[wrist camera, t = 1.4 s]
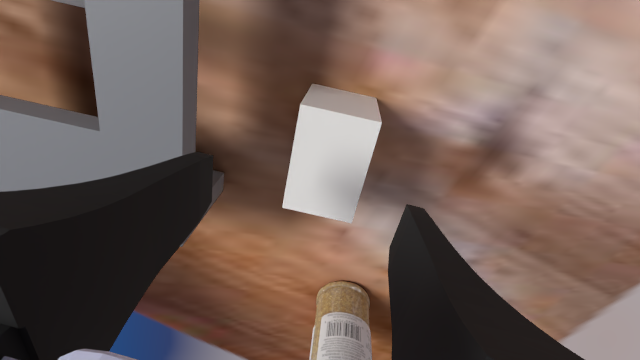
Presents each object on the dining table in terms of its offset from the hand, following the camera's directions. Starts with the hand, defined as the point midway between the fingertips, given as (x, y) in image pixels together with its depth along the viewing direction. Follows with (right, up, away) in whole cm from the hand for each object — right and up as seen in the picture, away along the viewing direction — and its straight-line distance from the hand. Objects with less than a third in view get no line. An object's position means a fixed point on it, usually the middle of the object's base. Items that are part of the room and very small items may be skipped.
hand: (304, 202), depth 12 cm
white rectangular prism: (+1, +4, +10) cm, 10 cm away
